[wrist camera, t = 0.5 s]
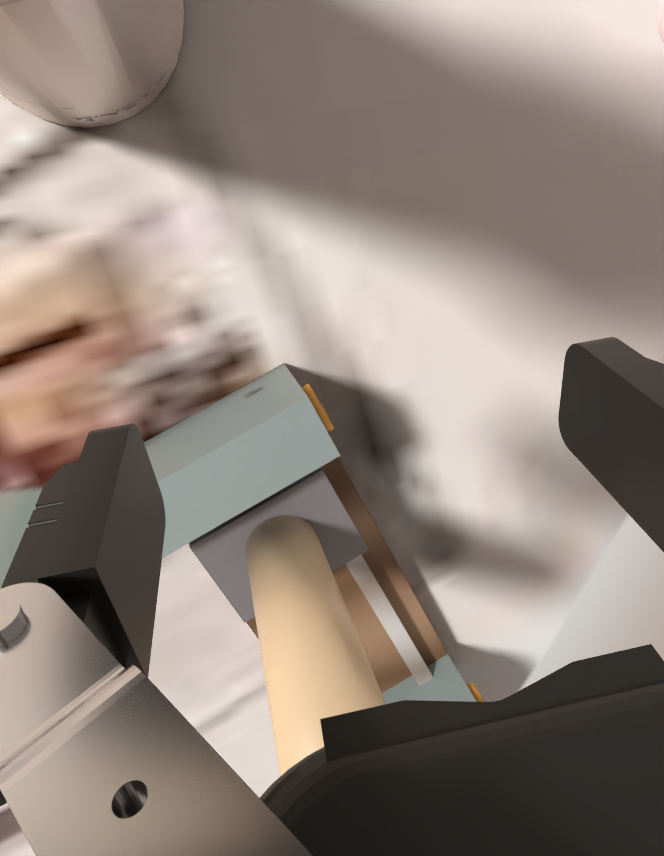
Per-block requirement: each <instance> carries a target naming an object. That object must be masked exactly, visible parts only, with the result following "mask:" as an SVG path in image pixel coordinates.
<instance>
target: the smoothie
mask: <svg viewBox="0 0 664 856" xmlns="http://www.w3.org/2000/svg"><path fill="white" fill-rule="evenodd" d="M657 24H658V29H659V33H660V35H661V38H662V39H663V41H664V0H659V4H658V10H657Z"/></svg>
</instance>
